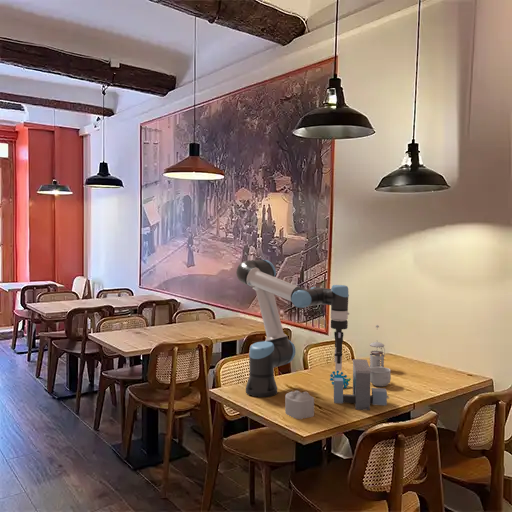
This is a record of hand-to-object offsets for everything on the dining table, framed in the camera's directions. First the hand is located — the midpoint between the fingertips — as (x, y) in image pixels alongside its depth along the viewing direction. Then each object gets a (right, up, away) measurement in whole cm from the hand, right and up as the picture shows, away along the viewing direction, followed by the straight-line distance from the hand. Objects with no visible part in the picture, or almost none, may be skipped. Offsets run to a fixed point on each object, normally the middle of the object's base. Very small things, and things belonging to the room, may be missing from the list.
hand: (337, 366), depth 223 cm
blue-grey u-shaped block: (+10, -16, -1) cm, 19 cm away
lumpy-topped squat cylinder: (-19, -17, -15) cm, 29 cm away
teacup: (+26, -15, +27) cm, 41 cm away
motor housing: (+10, -16, -1) cm, 19 cm away
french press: (+32, -14, +57) cm, 66 cm away
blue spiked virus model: (+5, -16, +22) cm, 27 cm away
